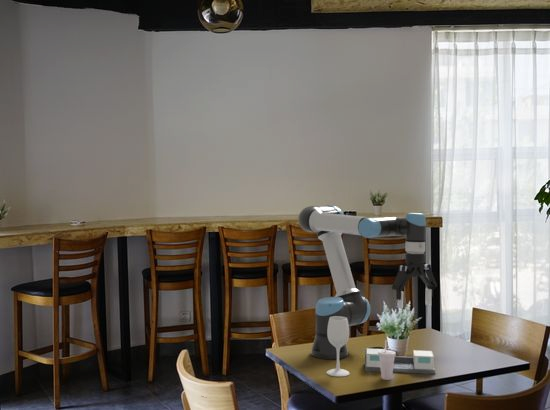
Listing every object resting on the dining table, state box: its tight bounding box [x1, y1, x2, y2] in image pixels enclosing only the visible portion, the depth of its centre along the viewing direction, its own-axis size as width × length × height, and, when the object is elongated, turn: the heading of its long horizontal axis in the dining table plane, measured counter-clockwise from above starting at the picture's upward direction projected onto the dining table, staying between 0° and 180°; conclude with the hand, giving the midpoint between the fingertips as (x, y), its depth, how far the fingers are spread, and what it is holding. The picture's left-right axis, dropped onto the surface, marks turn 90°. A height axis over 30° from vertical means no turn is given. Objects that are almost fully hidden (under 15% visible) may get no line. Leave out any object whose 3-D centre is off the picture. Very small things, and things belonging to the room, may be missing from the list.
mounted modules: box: [365, 347, 435, 370], centre depth 244 cm, size 25×8×5 cm, turn 81°
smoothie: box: [378, 339, 397, 381], centre depth 233 cm, size 6×6×14 cm
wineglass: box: [326, 316, 350, 378], centre depth 238 cm, size 9×9×21 cm
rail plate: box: [364, 354, 436, 375], centre depth 245 cm, size 26×10×4 cm, turn 81°
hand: (414, 306), depth 248 cm, fingers open, 13 cm apart
